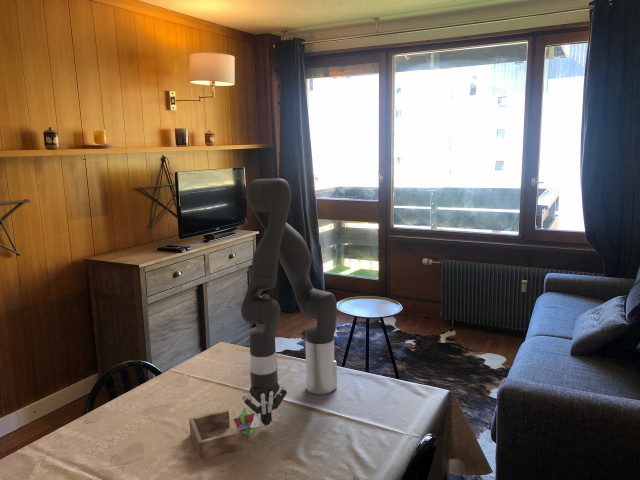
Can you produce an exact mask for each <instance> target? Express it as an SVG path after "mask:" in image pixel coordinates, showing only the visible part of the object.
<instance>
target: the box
mask: <svg viewBox="0 0 640 480" xmlns="http://www.w3.org/2000/svg"><path fill="white" fill-rule="evenodd" d="M188 420H189V421H188V423H189V433H190V435H189V436H190V438H191V441H192V443H193V446H194V448H195V451H196V453H197V456H198V458H199V461H203V460H207V459H211V458H215V457H219V456H222V455H226V454H230V453H234V452H238V451H242V432H240V431H237V430H235V431H233V432H229V433H224V434H220V435H216V436H214V437H209V438H205V439H202V436H201V435H203V434H207V433H211V432H214V431H215V432H216V431H220V430H224V429H227V428H230V427H231V425H230V422H231V421H230V411H229V409H224V410H219V411H215V412H212V413H206V414H202V415H198V416H193V417H189V418H188Z"/></svg>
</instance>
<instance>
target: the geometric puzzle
mask: <svg viewBox="0 0 640 480" xmlns="http://www.w3.org/2000/svg"><path fill="white" fill-rule="evenodd" d="M238 415H239V416H238ZM237 416H238V417H235V418H233V422H234V425H235V427H236V428H235V429H236V430H235V431H240V432H241V433H242V432H246V434H247V435H246V434H244V436H245V437H247V438H250V437H251V436H252V434H253V433H254V430H255V429H256V430H257V429H259V428H261V420H260V418H259V416H258V414H256V413H255V412H252V413H249V414H248V413H247V409H246V408H243V409H242V411H240V412H239V414H237Z"/></svg>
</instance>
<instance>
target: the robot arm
mask: <svg viewBox="0 0 640 480" xmlns="http://www.w3.org/2000/svg"><path fill="white" fill-rule="evenodd" d="M246 196H247V201H248V204H249V206H250V208H251V210H252V213H254V215H255V217H256V218H257V220H258V222H259V223H260V225H261V226H262V228H263V229H264V231H265V232H264V234H263V236H262V238H261V239H260V241H259V243H258V244H257V246H256V249H255V250H254V253H253V256H252V258H251V259H252V260H251V271H250V280H249V283H248V287H247V290H246V293H245V295H244V298H243V301H242V303H241V307H240V313H241V317H242V319H243V320H244V322H246V323H251V324H256V325H263V326H264V328H259V329H254V330H253V331H251V333H249V341H248V342H249V374H250V389H249V391H248V392H249V393H248V394H247V395H246V396H245V395H244V396H242V400H243V402H244V404H245V405H246V406H247V407H248V408H250V409H251V410H252V411H253V413H255V414H256V415H259V414H260V423H262V425H264V426H269V425H270V424H271V423H272V420H273V418H272V411H273V410H277V409H279V406H280V405H281V404H282V402H283V400H284V398H285V397H286V395H287V394H288V391H287V389H285V387H283V386H281V387H280V384H279V380H278V376H279V375H278V358H277V352H276V335H277V328H278V325H279V324H278V323H279V321H280V317H281V306H280V304H279V302H278V301H277V300H276V299H274V298H266V297H260V295H261V293H262V292H263V291H266V290H272V289H274V288H275V287H276V286H277V278H278V267H279V266H278V265H279V262H280V265H281V266H282V268H283V270H284V272H285V275H286V276H287V279H288V281H289V283H290V285H291V287H292V290H293V293H294V297H295V300H296V302H297V306H298V308H299V310H300V312H301V313H302V315H304V316H306V317H307V318H311V319H314V320H316V325H313V326H310V327H308V328H307V329H306V330H305V335H304V336H305V371H306V372H305V374H306V375H305V376H306V377H305V379H306V381H305V382H306V383H305V384H306V390H307V392H308V393H311V394H314V395H326V394H330V393H332V392H334V391H335V390H337V389H338V373H337V372H338V371H337V370H338V367H337V365H338V364H337V363H338V362H337V361H336V360H335V333H336V328H337V310H338V305H337V304H338V303H337V299H336V296H335V294H334V293H332V292H330V291H325V290H321V289H317V288H315V287H314V286H313V283H312V281H311V279H310V277H309V276H310V275H309V274H310V272H311V271H310V270H311V266H312V260H313V259H312V254H311V252H310V250H309V247H308V244H307V243H306V241H305V239H304V238H303V236H302V235H301V234H300V233H299V232H298V231H297V229H295V228H293V226H291V225H290V224H289V223H288V222H287V221H288V217H289V212H290V208H291V203H292V190H291V186H290V184H289V182H288V181H287V180H286V179H284V178H277V177H276V178H259V179H254V180H251V181H250V182H249V183H248V186H247V188H246ZM253 399H254V400H255V401H256V402H257V403H258V406H257V405H256V404H255V403H254V402H253V401H254V400H253Z"/></svg>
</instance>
